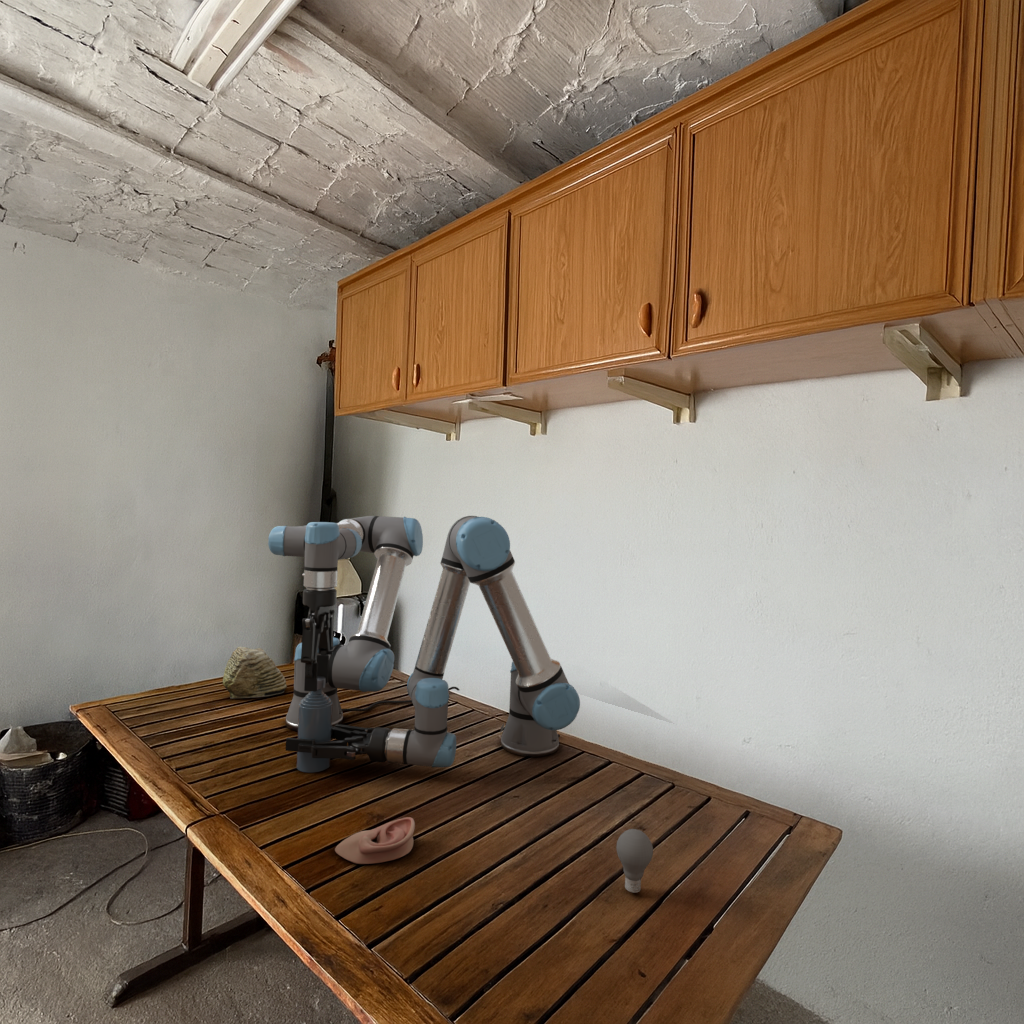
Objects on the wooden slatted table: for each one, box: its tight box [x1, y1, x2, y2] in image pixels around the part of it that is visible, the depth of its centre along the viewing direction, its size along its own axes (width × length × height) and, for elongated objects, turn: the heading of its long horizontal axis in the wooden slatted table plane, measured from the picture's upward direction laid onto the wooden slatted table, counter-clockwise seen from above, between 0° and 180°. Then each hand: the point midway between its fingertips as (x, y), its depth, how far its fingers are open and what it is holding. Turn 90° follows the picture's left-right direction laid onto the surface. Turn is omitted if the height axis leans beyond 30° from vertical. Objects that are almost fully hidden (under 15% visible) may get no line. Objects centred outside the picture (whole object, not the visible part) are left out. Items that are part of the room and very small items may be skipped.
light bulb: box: [615, 828, 654, 894], centre depth 106 cm, size 6×6×10 cm
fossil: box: [222, 646, 288, 699], centre depth 198 cm, size 9×18×15 cm, turn 132°
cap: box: [317, 676, 326, 689], centre depth 148 cm, size 4×4×2 cm
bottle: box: [296, 689, 332, 774], centre depth 149 cm, size 8×8×20 cm
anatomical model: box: [334, 816, 416, 865], centre depth 115 cm, size 13×4×12 cm
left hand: (316, 686), depth 148 cm, fingers open, 6 cm apart
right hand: (294, 737), depth 149 cm, fingers closed on bottle, 8 cm apart
